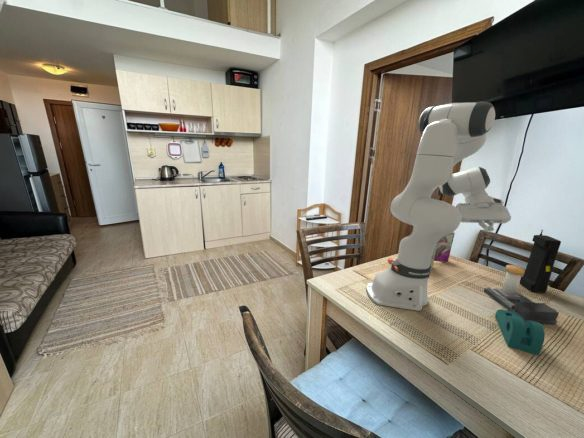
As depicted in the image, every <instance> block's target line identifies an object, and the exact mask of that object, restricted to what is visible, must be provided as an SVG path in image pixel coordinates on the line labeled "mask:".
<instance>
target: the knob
mask: <svg viewBox="0 0 584 438" xmlns="http://www.w3.org/2000/svg"><path fill="white" fill-rule="evenodd" d="M525 270H526V268H523V267H521V266H519V265H514V264H506V265H505V271H506V274H505V277H504V280H503V283H502V287H501V288H495V289H496V292H498V293H499V294H500V295H502V296H503V297H505V298H506V299H514V300H520V296H518V295H517V294H516V291H517V290H518V286H519V285H520V279H521V277H522V276H524V273H525Z"/></svg>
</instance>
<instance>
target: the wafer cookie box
mask: <svg viewBox="0 0 584 438" xmlns="http://www.w3.org/2000/svg"><path fill="white" fill-rule="evenodd" d="M454 238H455V231H454V232H452V233H451V234H448V235H445V236H444V237H442V238H441V239H440V240H439V241H438V243H437V248H436V252H435V257H434V261H435V262H441V263H448V262H449V259H450V254H451V249H452V246H453V242H454Z"/></svg>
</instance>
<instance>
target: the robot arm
mask: <svg viewBox="0 0 584 438" xmlns="http://www.w3.org/2000/svg"><path fill="white" fill-rule="evenodd" d="M495 118H496V108H495V106H494V105H493V104H492V103H491V102H489V101H477V102H450V103H445V104H440V105H437V104H436V105H433V106H429V107H426V108H425V109H424V110H423V111H422V113H421V114H420V116H419V119H418V122H417V123H418V126H417V127H418V131H419V133H420V135H421V138H420V141H419V144H418V147H417V150H416V157H415V160H414V165H413V170H412V174H411V177H410V179H409V181H408V183H407V185H406V186H405V187H404V189H403V190H402V192H400V193H399V194H398V195H397V196H395V197H393V200H392V201H391V204H390V208H389V209H390V213H391V214H392V216H393V217H394V218H396V219H397V220H399V221H400V222H402V223H404V224H407V225H409V226H413V227H412V228H413V229H412V232H411V234H410V235H408V236H405V237H403V238H402V239H401V240H400V241H399V248H398V254H397V258H396V259H395V260H393V258H392V257H389V258H387V260H386V261H387V263H388V264H389V265H390V266H391V267H389V268H387V269H385V270H383V271H381V272H379V273H377V274H376V275H375V276H374V277H373V278H374V279H373V280H372V281H373V282H368V283H367V284H366V288H365V290H366V293H367V295H368V297H369V298H370V300H372V302H374V303H375V304H376V305H379V306H380V305H381V306H387V307H393V308H397V309H398V308H399V309H405V310H412V311H417V312H419V311H422V309H423V307H424V306H426V305H428V303H429V295H428V284H429V283H428V280H429V278H430V276H431V270H432V269H431V265H430V263H431V259H432V255H433V251H434V248H435V246H436V244H437V242H438V241H439V240H440V239H441V238H442V237H444V236H445V235H448V234H451V233H452V232H454V233H455V231H456V230H457V229H458V228H459V226H460V225H461V223H467V224H468V223H472V224H475V223H476V224H477V223H478V225H479V226H480V227H481V228H483V231H484V232H494V231H495V229H494V224H507V223H508V222H510V221H511V219H512V216H511V213H510V211H509V209H508V208H507V207H506V206H505V205H504V204H505V203H504V200H502V199H501V198H496V197H493V196H490V195H489V194H488V192H487V191H486V189H487V188H488V187H489V185H490V184H491V178H490V176H489V174H488V172H487V169H485V168H483V167H481V166H475V167H472V168H468V169H465V170H462V171H458V172H455V173H453V171H454V168H455V166H456V164H457V165H458V163H460V162H461V161H463V160H464V159H466V158H468V157H471V156H472V155H474V154H476V153H477V152H479V151H480V150H481V148H482V147H483V146H484V145H485V142H486V140H487V139H486V138H487V133H488V132H489V131H490V130H491V128H492V126H493V125H494V122H495V120H496V119H495ZM438 187H439V191H440V193H441V194H442V195H444V196H446V197H453V196H456V195H459V194H460V195H461V194H462V195H463V197H464V203H463V202H459V203H458V204H456V206H455V205H453V204H451V203H449V202H446V201H444V200H439V199H435V198H432V195H433V193H434V191H435V190H436V189H437V188H438Z"/></svg>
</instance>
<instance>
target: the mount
mask: <svg viewBox="0 0 584 438" xmlns="http://www.w3.org/2000/svg"><path fill="white" fill-rule="evenodd" d="M496 289H497V288H492V287H491V286H487V287H485V288H484V289H483V293H484V294H486V295H488V296H489V297H490V298H492V299H493V300H494V301H495V302H497V303H498V304H499V305H501V306H502V307H503V309H505V310H508V311H511V312H513V313H516V314H517V315H519V316H520V317H521V318H522V319H523V320H524V322H526V321H528V320H529V321H533V322H537V323H540V324H542V325H550V326H551V325H552V326H553V325H554V326H556V325H557V323H558V320H557V319H558V316H559V314H560V313H559V312H558V310H555V309H554V308H552V307H551V306H549V305H548V304H546V303H545V302H543V303H542V302H534V301H533V300H531V299H530V298H528V297H527V296H525V294H524V295H523V294H522V293H520V292H519V291H517V290H516V294H517V295H518V296H520V300H514V299H506V298H505V297H503V296H502V295H500V294H499V293H498V292H496Z"/></svg>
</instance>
